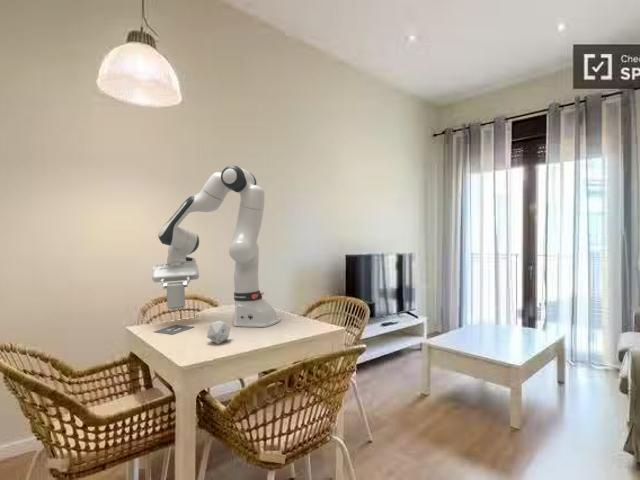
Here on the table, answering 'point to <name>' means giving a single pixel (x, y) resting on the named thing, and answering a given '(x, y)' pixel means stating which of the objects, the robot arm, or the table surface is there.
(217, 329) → the die
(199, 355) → the table surface
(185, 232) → the robot arm
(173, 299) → the can
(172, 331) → the mat
